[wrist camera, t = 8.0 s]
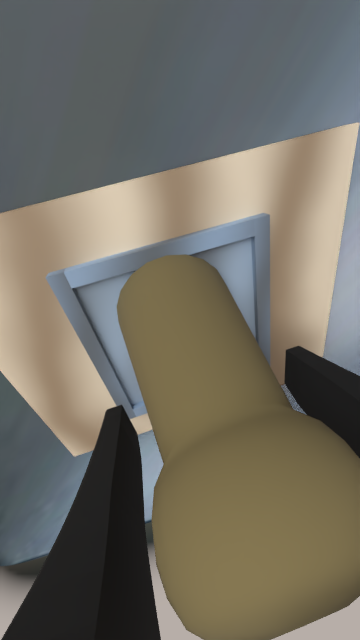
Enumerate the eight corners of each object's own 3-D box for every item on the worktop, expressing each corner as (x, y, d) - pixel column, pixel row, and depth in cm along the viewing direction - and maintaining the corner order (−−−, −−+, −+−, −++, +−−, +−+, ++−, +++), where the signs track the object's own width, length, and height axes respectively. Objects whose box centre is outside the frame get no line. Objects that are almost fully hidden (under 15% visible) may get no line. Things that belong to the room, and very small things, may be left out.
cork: (211, 350, 16) (342, 604, 7) (113, 352, 14) (128, 698, 5) (241, 260, 13) (550, 520, 4) (119, 247, 11) (184, 686, 2)
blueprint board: (345, 125, 12) (371, 119, 11) (313, 365, 20) (325, 376, 19) (-96, 237, 10) (-123, 246, 9) (75, 446, 19) (73, 464, 18)
